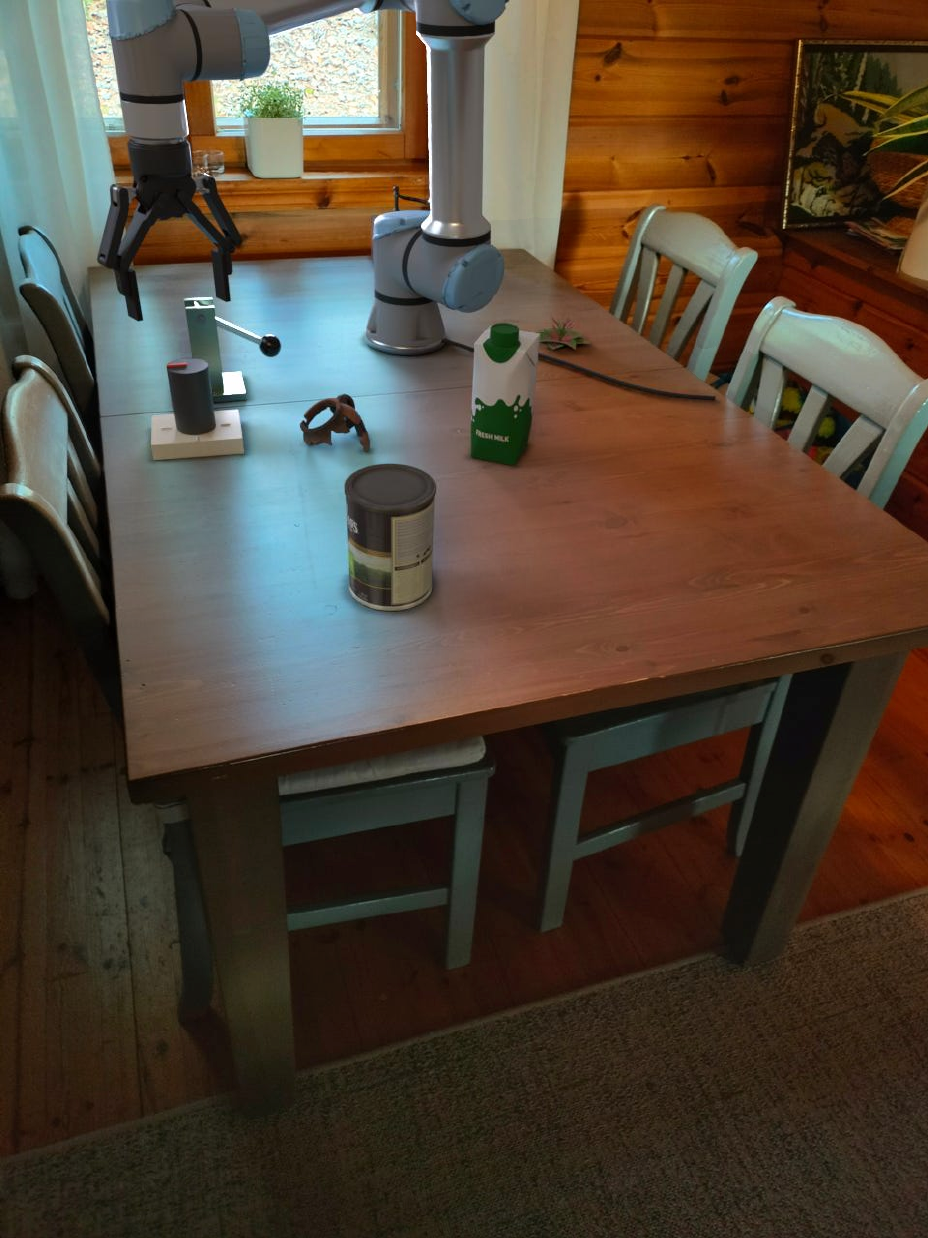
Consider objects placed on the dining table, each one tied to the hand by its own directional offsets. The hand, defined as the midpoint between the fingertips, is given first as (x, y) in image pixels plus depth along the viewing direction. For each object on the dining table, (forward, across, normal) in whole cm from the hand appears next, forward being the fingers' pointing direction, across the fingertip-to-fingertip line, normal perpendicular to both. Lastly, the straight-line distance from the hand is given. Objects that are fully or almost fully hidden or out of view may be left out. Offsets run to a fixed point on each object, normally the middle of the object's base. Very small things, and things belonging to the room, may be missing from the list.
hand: (181, 308), depth 127 cm
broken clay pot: (+20, -16, +14) cm, 29 cm away
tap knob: (+17, 0, 0) cm, 17 cm away
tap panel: (+20, 0, 0) cm, 20 cm away
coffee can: (+20, +3, +48) cm, 52 cm away
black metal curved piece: (+19, -85, -48) cm, 100 cm away
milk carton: (+20, -33, +32) cm, 50 cm away
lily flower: (+19, -75, +7) cm, 78 cm away
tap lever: (+11, -15, -12) cm, 22 cm away
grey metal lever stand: (+20, -11, -14) cm, 27 cm away
